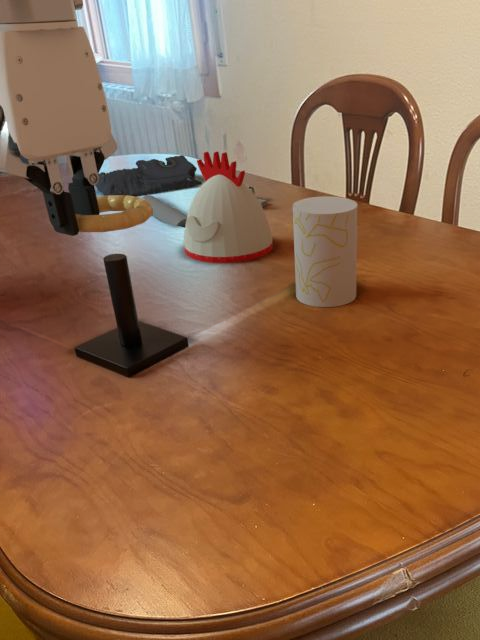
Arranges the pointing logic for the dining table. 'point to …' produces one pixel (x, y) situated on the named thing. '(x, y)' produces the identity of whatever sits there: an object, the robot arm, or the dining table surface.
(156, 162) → the black rough slab
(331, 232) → the white patterned cylinder
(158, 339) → the post
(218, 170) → the white chicken hat
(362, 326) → the dining table surface
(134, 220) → the ring
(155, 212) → the gray half cylinder
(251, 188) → the strap clip
